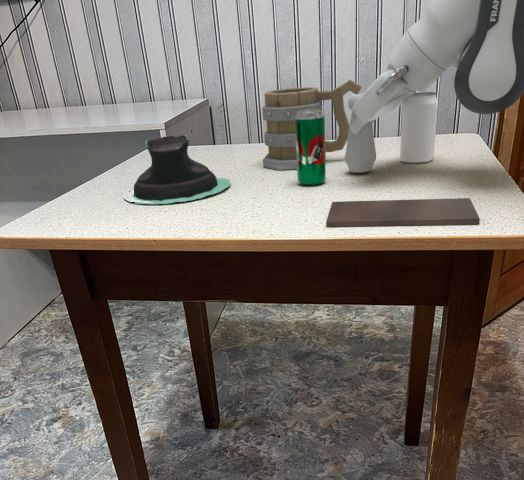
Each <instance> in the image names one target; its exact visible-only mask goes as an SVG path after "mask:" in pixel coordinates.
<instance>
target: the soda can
mask: <svg viewBox="0 0 524 480" xmlns="http://www.w3.org/2000/svg"><path fill="white" fill-rule="evenodd" d="M325 119H326V118H325V115H324V114H323V109H322V110H317V109H315V110H303V111H298V112H297V116H296V118H295V136H296V157H297V169H296V174H297V176H296V177H297V182H298V184H300V185H301V186H304V187H314V186H315V187H316V186H320V185H323V184H324V183H325V181H326V179H327V173H326V171H327V169H326V168H327V167H326V159H325V141H326V127H325V126H326V125H325V124H326V122H325Z"/></svg>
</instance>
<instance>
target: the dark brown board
mask: <svg viewBox="0 0 524 480" xmlns="http://www.w3.org/2000/svg"><path fill="white" fill-rule="evenodd" d="M480 221H481V218H480V216H479V214H478V212H477V210H476V208H475V205H474V204H473V202H472V200H471V198H470V197H462V198H461V197H460V198H459V197H458V198H457V197H456V198H424V199H423V198H422V199H421V198H419V199H385V200H384V199H383V200H382V199H381V200H380V199H379V200H348V201H347V200H346V201H345V200H344V201H332V202H331V205H330V208H329V212H328V214H327V218H326V221H325V227H327V228H338V227H339V228H344V227H345V228H348V227H398V226H399V227H400V226H401V227H403V226H404V227H405V226H409V227H410V226H459V225H461V226H463V225H464V226H465V225H469V226H471V225H480Z"/></svg>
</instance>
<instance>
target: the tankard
mask: <svg viewBox="0 0 524 480" xmlns="http://www.w3.org/2000/svg"><path fill="white" fill-rule="evenodd" d="M362 87H363V86H362V85H361V84H359V83H357V82H356V81H354V80H352V79H349V80H347V81H345V82H344V83H342V84H341V85H339V86H337V87H334V88H333V89H331V90H319V88H318V87H314V86H313V87H309V86H308V87H307V86H306V87H305V86H304V87H303V86H302V87H290V88H289V87H288V88H279V89H274V90H268V91H267V92H265V93H264V106H262V119H263V121H266V131H265V133H264V134H263V135H264V145H265V146H266V147H267V150H268V153H267V154H266V155H265V156H264V158H263V159H262V167H263V168H266V169H271V170H275V171H294V170H295V171H297V157H296V136H295V118H296V116H297V112H298V111H303V110H315V109H317V110H322V111H323V107H322V101H329V100H331V101H332V109H333V110H332V111H333V115H334V117H335V121H336V123H337V125H338V136H337V139H335V140H332V141H329V140H325V160H326V159H327V153H333V152H339V151H343V150H344V148H345V146H346V145H347V141H348V134H349V128H350V122H349V119H348V116H347V113H346V110H345V105H344V95H346V94H347V93H348V92H351V93H353V94H354V95H355V94H360V92H361V89H362Z"/></svg>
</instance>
